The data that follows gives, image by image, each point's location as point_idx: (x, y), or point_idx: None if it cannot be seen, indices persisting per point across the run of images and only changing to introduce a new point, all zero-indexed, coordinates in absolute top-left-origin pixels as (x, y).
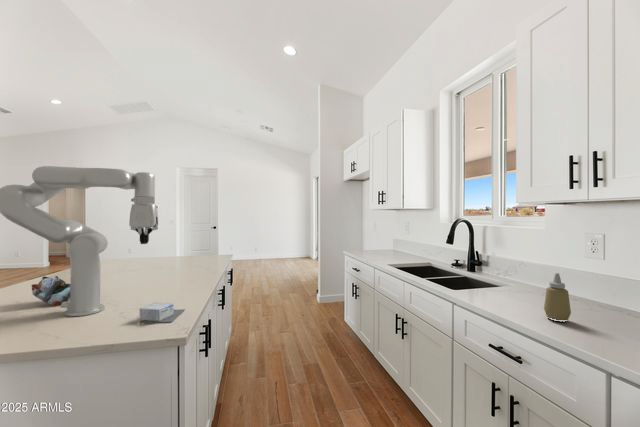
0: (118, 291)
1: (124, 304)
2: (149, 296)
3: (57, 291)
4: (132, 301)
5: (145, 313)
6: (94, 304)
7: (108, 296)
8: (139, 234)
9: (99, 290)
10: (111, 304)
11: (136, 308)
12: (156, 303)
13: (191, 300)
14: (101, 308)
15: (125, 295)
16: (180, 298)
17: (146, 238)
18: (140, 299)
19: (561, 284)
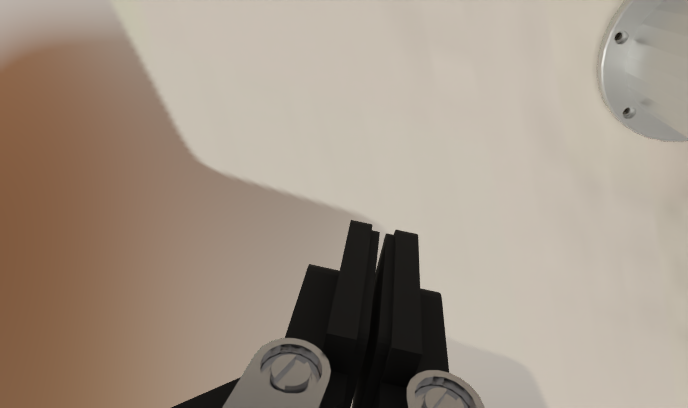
0: (573, 380)
1: (504, 136)
2: None
3: None
4: (473, 182)
5: None
6: (664, 17)
7: (608, 310)
8: (452, 379)
9: (679, 76)
10: (572, 156)
11: (425, 33)
12: None
13: (171, 110)
14: (612, 31)
15: (528, 303)
16: (240, 166)
17: (309, 299)
18: (440, 208)
19: None
